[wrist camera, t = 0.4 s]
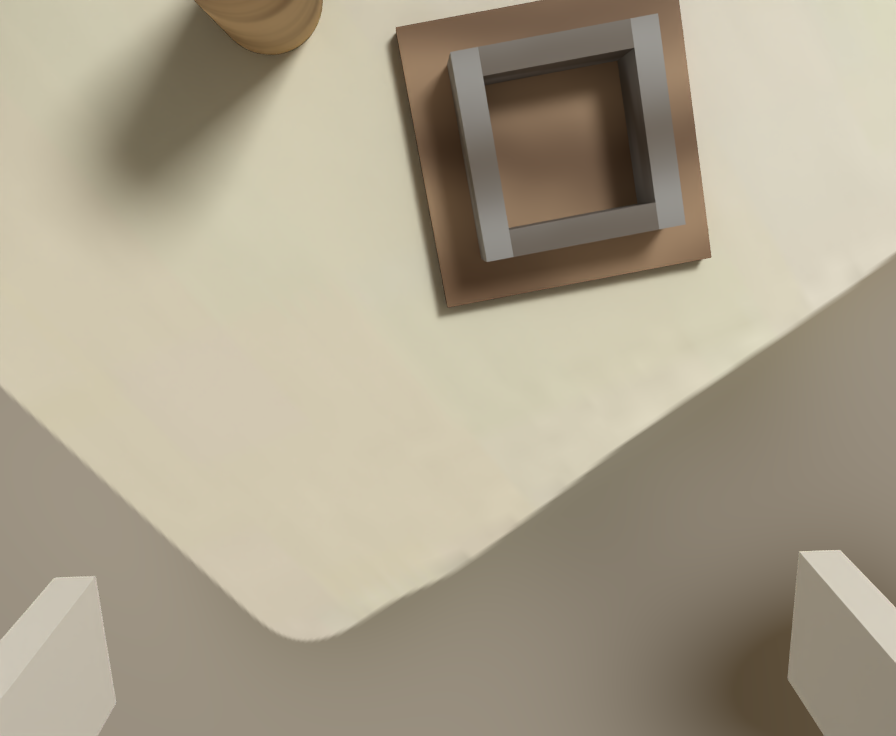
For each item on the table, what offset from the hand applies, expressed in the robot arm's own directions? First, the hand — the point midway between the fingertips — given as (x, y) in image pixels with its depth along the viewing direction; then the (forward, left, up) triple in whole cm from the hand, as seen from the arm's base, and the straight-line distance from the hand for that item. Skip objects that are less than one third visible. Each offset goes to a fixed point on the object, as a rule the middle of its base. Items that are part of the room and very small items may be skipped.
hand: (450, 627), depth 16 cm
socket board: (-10, +8, -27) cm, 30 cm away
